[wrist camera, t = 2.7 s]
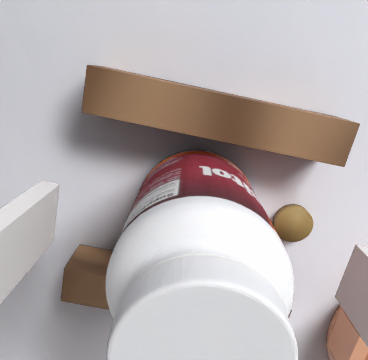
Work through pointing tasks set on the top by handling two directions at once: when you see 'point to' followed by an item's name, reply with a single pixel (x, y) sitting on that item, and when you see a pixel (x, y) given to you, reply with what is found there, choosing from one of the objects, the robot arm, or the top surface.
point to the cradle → (211, 129)
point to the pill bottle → (199, 269)
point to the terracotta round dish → (344, 339)
